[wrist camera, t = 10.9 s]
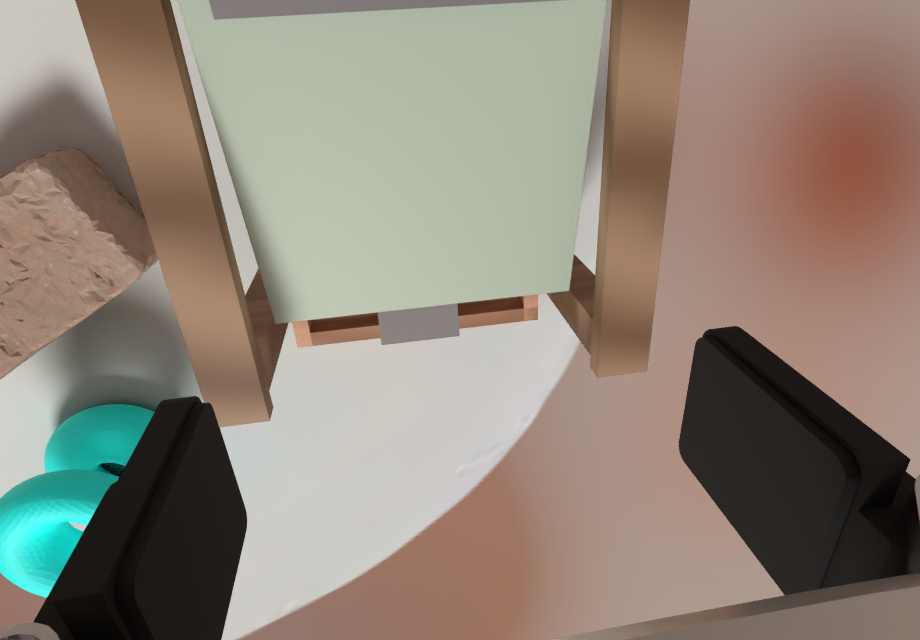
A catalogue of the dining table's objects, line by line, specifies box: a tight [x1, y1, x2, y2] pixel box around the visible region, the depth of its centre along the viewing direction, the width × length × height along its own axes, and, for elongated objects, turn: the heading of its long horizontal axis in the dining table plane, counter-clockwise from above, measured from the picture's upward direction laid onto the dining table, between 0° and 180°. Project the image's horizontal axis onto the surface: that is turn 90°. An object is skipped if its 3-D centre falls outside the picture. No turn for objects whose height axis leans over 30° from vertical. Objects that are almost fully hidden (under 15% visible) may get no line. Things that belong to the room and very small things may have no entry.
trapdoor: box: [177, 0, 607, 324], centre depth 22 cm, size 14×14×1 cm
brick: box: [0, 148, 158, 380], centre depth 34 cm, size 17×8×5 cm, turn 123°
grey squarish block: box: [377, 303, 459, 345], centre depth 36 cm, size 5×5×6 cm
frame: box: [75, 0, 690, 427], centre depth 29 cm, size 24×20×16 cm
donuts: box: [0, 404, 155, 597], centre depth 38 cm, size 10×10×10 cm
